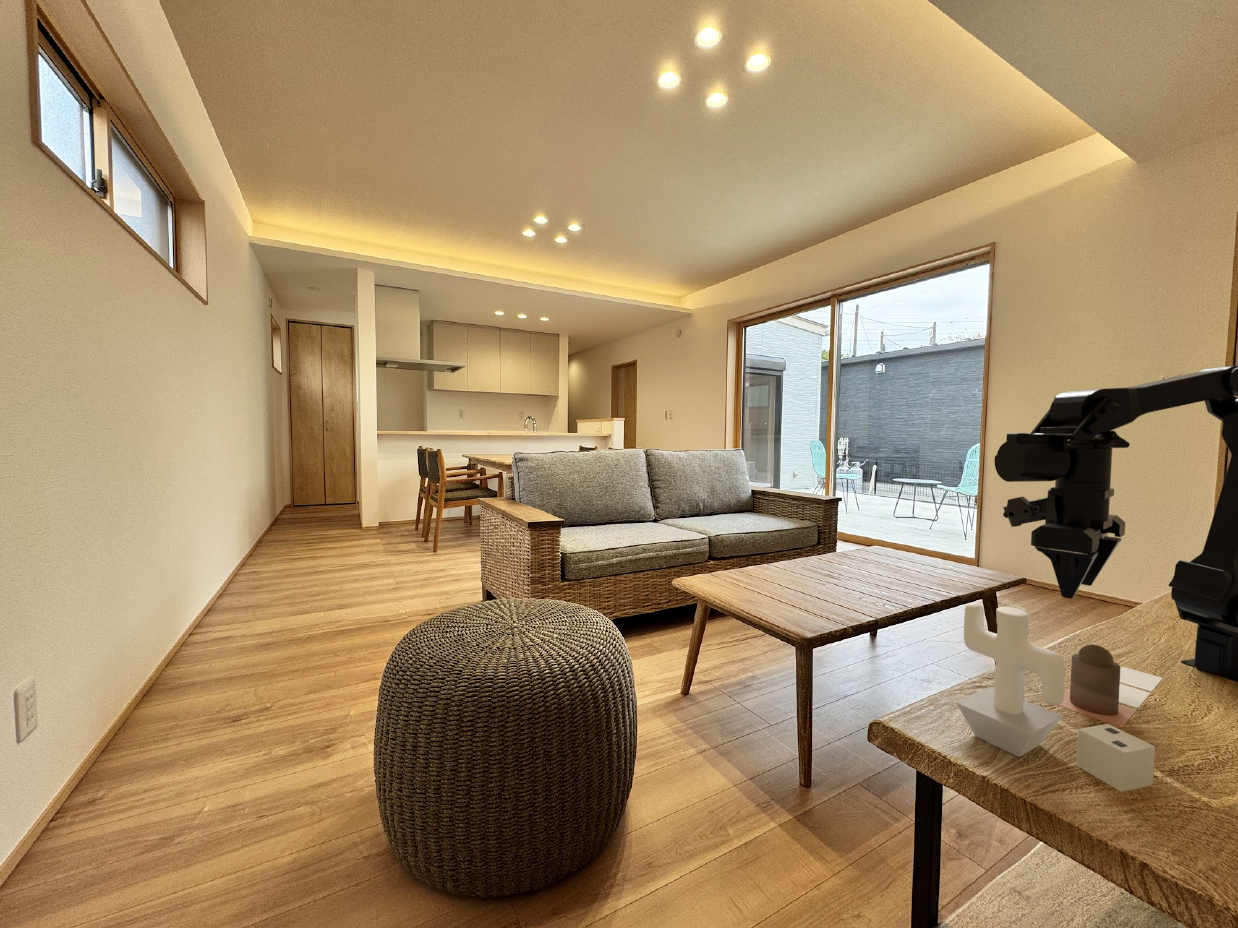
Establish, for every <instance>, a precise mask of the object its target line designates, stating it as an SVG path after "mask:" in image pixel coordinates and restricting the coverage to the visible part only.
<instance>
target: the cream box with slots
mask: <svg viewBox="0 0 1238 928" xmlns="http://www.w3.org/2000/svg"><path fill="white" fill-rule="evenodd" d="M1076 746H1077V747H1076V761H1075V762H1076V765H1075V766H1077V767H1078V768H1080V769H1081V770H1084V772H1087V773H1088V774H1090V775H1091V776H1094V777H1095V778H1097V779H1099V780H1100V781H1102V782H1104V783H1105V784H1107V785H1109V786H1111V787H1112V788H1114V789H1116V790H1117V791H1119V792H1121V793H1122V792H1129V791H1132V790H1136V789H1137V790H1138V789H1141V788H1142V789H1143V788H1146V787H1151V786H1153V782H1154V780H1153V779H1154V769H1155V755H1156V754H1155V752H1156V746H1154V745H1153V744H1150V743H1149V742H1147V741H1144V740H1143V739H1140V738H1139V737H1136V736H1134V735H1132V734H1131V733H1128V732H1126V731H1124V730H1122V729H1120V728H1117V726H1116V727H1115V725H1112V724H1110V723H1105V724H1099V725H1093V726H1088V727H1081V728H1078V730H1077V745H1076Z"/></svg>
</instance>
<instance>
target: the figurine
mask: <svg viewBox="0 0 1238 928" xmlns="http://www.w3.org/2000/svg"><path fill="white" fill-rule="evenodd" d="M995 611H996V614H995V615H996V616H995V617H996V624H997V629H996V630H997V633H995V632H992V631H988V630H987V629H986V628H985V624H984V616H985V615H984V614H985V613H984V607H983V605H981V603H977V602H970V603H967V605H966V606H965V608H964V616H963V617H964V619H963V620H964V621H963V622H964V623H963V641H964V645H965V646H966V648H968V649H969V650H970V651H972V652H973V653H977V654H979V655H982V656H986V657H988V658H991V659H993V660H994V661H995V669H994V670H995V673H994V687H992V686H987V687H986V688H983V689H981V690H979V691H977V692H974V693H973V694H970V695H968V696H966V697H964V698H961V699H959V700H957V701H956V702H955V704H956V705H957V706H958V708H959V710H960V712H961V715H962V716H963V718H964V719H965V720H966V721H965V722H967V724H968V726H969V728H970V730H971V731H972V734H973V735H974V737H977V738H979V739H980V740H982V741H985V742H986V743H989V744H991V745H993V746H995V747H997V748H999V749H1002V750H1004V751H1006V752H1007V753H1010V754H1012V755H1014V756H1016V757H1018V758H1021V757H1022V756H1023V755H1026V754H1027V753H1028V752H1030V751H1032V750H1034V749H1035V748H1037V747H1039V746H1040V745H1041V744H1042V742H1043V741H1044V740H1045V739H1046V738H1047V736H1048V735H1050V733H1051V732H1052V730H1054V728H1055V727H1056V726H1057V724H1058V723H1059V722H1060V721H1061V720H1062V718H1063V717H1064V715H1062V714H1060V713H1058V712H1054V711H1053V710H1050V709H1047V708H1045V707H1042V706H1039V705H1037V704H1035V703H1033V702H1029V701H1027V700H1025V685H1026V684H1025V683H1026V671H1029V672H1031V673H1034V674H1037V675H1039V677H1040V681H1041V698H1042V701H1043V702H1044V703H1045V704H1047V705H1050V706H1059V705H1060V704H1061V703H1062V702H1063V699H1064V692H1065V681H1066V664H1065V663H1066V662H1065V660H1064V658H1063V656H1062V655H1061V654H1059V653H1058V652H1056V651H1054V650H1051V649H1048V648H1047V649H1046V648H1044V647H1040V646H1037V645H1033V644H1032V643H1031V644H1030V643H1029V640H1028V635H1030V633H1031V631H1030V627H1029V626H1030V625H1029V624H1030V623H1029V622H1030V621H1029V620H1030V619H1029V617H1030V616H1029V612H1028V610H1027V609H1026V608H1024V607H1020V606H1017V605H1011V604H1008V605H1007V606H1000V607H997V608H996V610H995Z"/></svg>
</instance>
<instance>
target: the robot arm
mask: <svg viewBox="0 0 1238 928" xmlns="http://www.w3.org/2000/svg"><path fill="white" fill-rule="evenodd" d="M1201 402H1204V403H1205V407H1206V409H1207V410H1206V412H1208V413H1209V415H1212V416H1213V417H1215V418H1216V419H1217V420H1220V421H1221V422H1222V428H1221V437H1222V439H1223V441H1224V444H1225V445H1226V447H1227V449H1228V451H1229V452H1230V455H1231V456H1230V460H1229V464H1228V467H1227V470H1226V474H1225V477H1224V481H1223V482H1222V483H1223V484H1222V486H1221V490H1220V493H1219V497H1218V498H1217V499H1218V500H1217V502H1216V505H1215V510H1214V513H1213V516H1212V520H1211V523H1210V526H1209V530H1208V533H1207V537H1206V540H1205V543H1204V547H1203V549H1202V552H1201V553H1200V554H1199V555H1198V556H1195V558H1193V559H1191V560H1190V561H1187V560H1186V561H1185V560H1183V559H1180V560H1179V561H1178V560H1177V563H1176V564H1175V565H1174V566H1175V567H1174V573H1173V577H1172V579H1171V580H1170V581H1169V583H1168V587H1171V593H1170V596H1171V600H1173V601H1174V603H1175V605H1176V609H1177V612H1178V616H1179V619H1180V620H1183V621H1188V622H1190V623H1194V624H1195V625H1197V629H1196V639H1195V646H1194V647H1195V648H1194V658H1189V659H1183V660H1180V663H1181V664H1184V665H1187V666H1190V667H1192V668H1196V669H1198V670H1201V671H1203V672H1205V673H1206V672H1207V673H1210V674H1213V675H1215V676H1218V677H1221V678H1224V679H1227V680H1230V681H1233V682H1235V683H1238V365H1229V366H1228V365H1227V366H1220V367H1209V368H1203V369H1201V370H1198V371H1196V372H1192V373H1187V374H1183V375H1179V376H1174V377H1170V378H1169V377H1168V378H1165V379H1160V380H1155V381H1151V382H1146V383H1141V384H1137V385H1132V386H1127V387H1113V388H1112V387H1111V388H1098V389H1096V388H1095V389H1084V390H1071V391H1063V392H1062V393H1059V394H1057V395H1056V396H1055V397H1054V400H1053V401H1052V402H1051V404H1050V407H1049V409H1048V410H1047V412H1046V413H1045V414H1044V415H1043V417H1042V418H1041V419H1040V421H1039V422H1038V423H1037V424H1036V426H1035V427H1034V428H1033V430H1032V431H1031V432H1030V433H1026V432H1025V433H1024V432H1007V433H1006V441H1005V442H1004V443H1002V444H1001V445H1000V446H999V448H998V449H997V451H996V455H994V468H995V471H996V474H997V475H998V476H999V478H1000V479H1001V480H1002V481H1005V482H1007V483H1012V482H1013V483H1015V482H1016V483H1018V482H1019V483H1021V482H1022V483H1025V482H1029V483H1030V482H1035V483H1036V482H1054V481H1055V482H1054V483H1055V484H1054V486H1052V487H1050V488H1049V489H1048V490H1047V497H1042V498H1038V499H1033V500H1029V499H1027V498H1026V497H1024V496H1018V497H1014V498H1009V499H1007V503H1006V505H1005V506H1003V511H1004V512H1003V513H1002V516H1003V518H1005V519H1008V522H1009V523H1010V526H1011V528H1013V527H1021V525H1023V524H1029V523H1034V522H1041V521H1044V524H1042V525H1039V526H1038V527H1036V528H1034V529H1033V530H1032V531H1031V535H1030V536H1031V537H1030V545H1031V546H1032V547H1034V548H1035V550H1036V551H1037V552H1040V553H1041V554H1043V555H1044V556H1045V557H1046V558H1048V559H1049V560H1050V562H1051V565H1052V568H1053V571H1054V574H1055V577H1056V581H1057V585H1058V588H1059V591H1060V595H1061V597H1063V599H1064V598H1065V599H1070V600H1072V599H1074V598H1075V596H1076V594H1077V592H1078V590H1079V588H1080V587H1081V586H1082V585H1083V586H1089V587H1090V586H1092V585H1094V584H1093V583H1094V582H1095V581H1096V579H1097V578H1098V576H1099V574H1100V573H1101V571H1102V570H1103V568H1104V567H1105V565H1106V564H1107V562H1108V561H1109V559H1110V557H1111V556H1112V555H1113V553H1114V552H1115V550H1116V548H1118V546H1119V544H1120V543H1121V542H1122V537H1123V536H1125V535H1126V521H1124V520H1123V519H1122V518H1121V517H1119V515H1117V514H1110V502H1111V497H1114V496H1115V488H1112V487H1111V483H1112V482H1111V481H1112V480H1111V479H1112V464H1113V462H1112V461H1113V449H1126V448H1129V447H1130V446H1131V445H1130V443H1129V442H1128V441H1127V440H1126V439H1124V438H1123V437H1121V436H1120V435H1119V434H1117V431H1115V430H1116V429H1119V428H1122V427H1124V426H1126V425H1128V424H1132V423H1134V421H1136V420H1137V419H1138V418H1139V417H1141V416H1144V415H1146V414H1149V413H1155V412H1158V411H1163V410H1167V409H1172V408H1177V407H1181V406H1186V405H1191V404H1196V403H1201ZM1109 534H1114V536H1109Z"/></svg>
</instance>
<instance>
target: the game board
mask: <svg viewBox="0 0 1238 928" xmlns="http://www.w3.org/2000/svg"><path fill="white" fill-rule="evenodd" d="M1120 667H1121V668H1120V687H1119V706H1118V714H1116V715H1111V716H1108V715H1100V714H1095V713H1091V712H1088V711H1085V710H1083V709H1081V708H1078V707H1077V706H1075V705H1073V704H1072V703H1071V702H1070V687H1069V688H1068V689H1066V690H1064V699H1063V702H1062V703H1061V704H1060V705H1058V706H1060V707H1062V708H1065V709H1068V710H1070V711H1073V712H1077V713H1079V714H1082V715H1085V716H1088V717H1091V718H1094V719H1097V720H1099V721H1102V722H1106V723H1107V724H1110V725H1113V726H1116V727H1120V728H1124V726H1125V725H1126V724H1127V723H1128V721H1129V720H1130V719H1131V717H1132V716H1133V715H1134V714H1135V712H1136V711H1137V709H1139V708H1140V707H1141V705H1142V704H1143V703H1144V702H1145V701H1146V699H1147V698H1148V697H1149V696H1150V694H1151V693H1152V692H1153V691H1154V690H1155V689H1156V687H1157V686H1158V684H1160V683H1161V681H1162V680H1163V679H1164V678H1163V677H1161V676H1157V675H1155V674H1154V675H1153V674H1150V673H1147V672H1143V671H1140V670H1135V669H1131V668H1129V667H1126V666H1125V667H1124V666H1121V665H1120ZM1122 704H1123V705H1122Z"/></svg>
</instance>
